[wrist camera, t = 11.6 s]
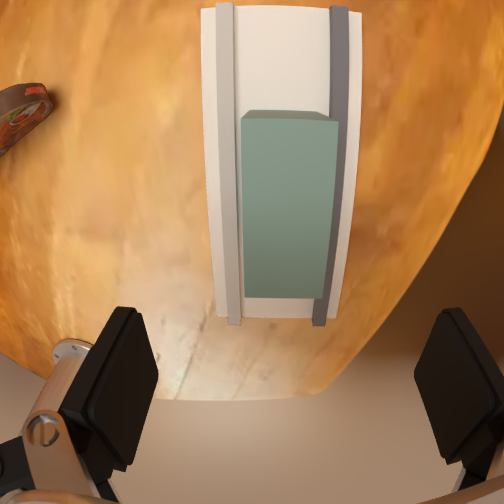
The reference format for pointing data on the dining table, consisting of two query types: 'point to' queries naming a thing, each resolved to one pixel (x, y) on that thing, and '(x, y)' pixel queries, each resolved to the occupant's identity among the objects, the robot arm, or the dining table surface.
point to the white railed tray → (276, 98)
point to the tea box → (287, 201)
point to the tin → (21, 111)
